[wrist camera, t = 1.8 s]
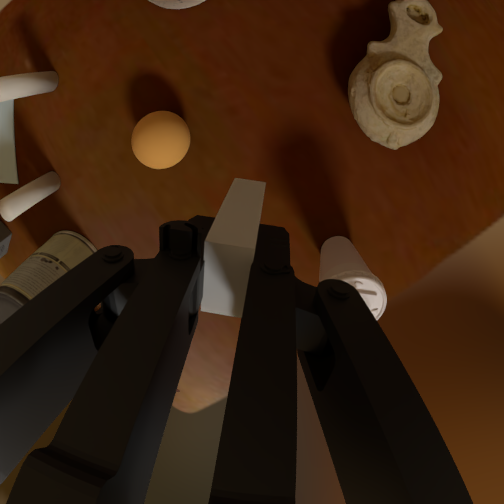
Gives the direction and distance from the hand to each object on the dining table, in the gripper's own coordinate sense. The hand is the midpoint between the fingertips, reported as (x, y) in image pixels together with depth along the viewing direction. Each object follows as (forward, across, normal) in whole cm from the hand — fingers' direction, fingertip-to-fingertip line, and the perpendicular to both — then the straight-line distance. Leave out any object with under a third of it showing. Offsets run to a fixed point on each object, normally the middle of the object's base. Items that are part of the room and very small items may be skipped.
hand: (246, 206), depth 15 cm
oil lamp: (+16, +11, +10) cm, 22 cm away
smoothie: (+16, +10, -10) cm, 21 cm away
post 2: (+16, -25, -6) cm, 31 cm away
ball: (+13, -9, 0) cm, 16 cm away
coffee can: (+16, -23, -18) cm, 34 cm away
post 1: (+16, -25, +6) cm, 31 cm away
